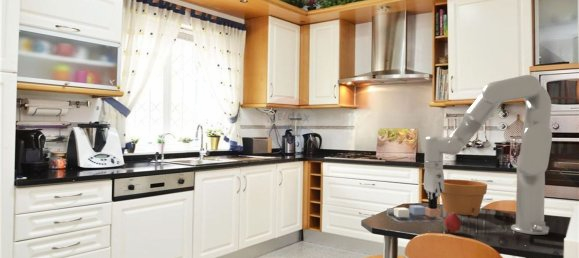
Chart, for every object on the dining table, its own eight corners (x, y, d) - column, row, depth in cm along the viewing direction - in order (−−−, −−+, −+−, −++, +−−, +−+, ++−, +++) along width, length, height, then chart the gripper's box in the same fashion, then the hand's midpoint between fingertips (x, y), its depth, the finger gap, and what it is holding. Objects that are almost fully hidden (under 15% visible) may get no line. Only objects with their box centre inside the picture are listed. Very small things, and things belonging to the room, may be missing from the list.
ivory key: (409, 217, 178) (409, 209, 178) (398, 217, 178) (398, 209, 178) (404, 214, 183) (404, 207, 183) (393, 214, 182) (394, 207, 182)
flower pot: (477, 210, 206) (478, 179, 206) (493, 220, 186) (494, 185, 185) (432, 208, 209) (432, 178, 208) (443, 218, 188) (444, 184, 187)
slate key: (425, 214, 179) (425, 207, 179) (414, 214, 179) (414, 207, 179) (420, 212, 184) (420, 205, 184) (409, 212, 183) (409, 205, 183)
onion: (447, 230, 166) (448, 209, 166) (462, 232, 163) (463, 211, 163) (442, 232, 162) (442, 211, 162) (457, 235, 158) (458, 214, 158)
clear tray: (449, 224, 176) (449, 213, 176) (398, 225, 173) (398, 214, 173) (434, 217, 189) (434, 207, 189) (386, 218, 186) (386, 208, 186)
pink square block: (440, 216, 180) (441, 209, 180) (430, 216, 180) (430, 209, 180) (435, 214, 185) (435, 207, 185) (424, 214, 184) (425, 207, 184)
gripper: (450, 167, 175) (449, 211, 175) (433, 163, 190) (432, 204, 190) (433, 167, 174) (432, 212, 174) (417, 163, 189) (416, 204, 189)
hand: (432, 208), depth 182 cm, fingers closed
